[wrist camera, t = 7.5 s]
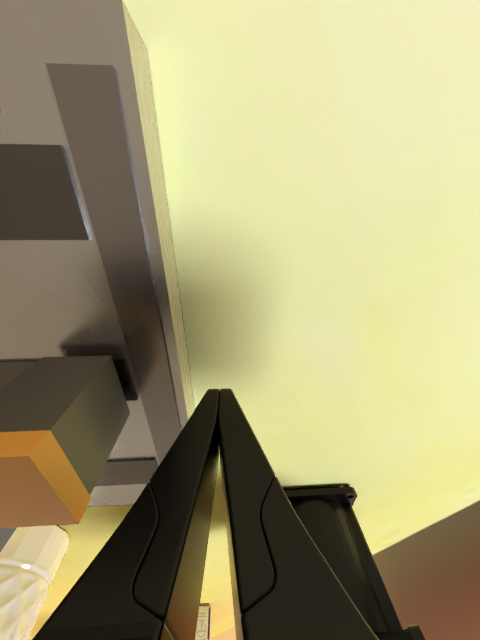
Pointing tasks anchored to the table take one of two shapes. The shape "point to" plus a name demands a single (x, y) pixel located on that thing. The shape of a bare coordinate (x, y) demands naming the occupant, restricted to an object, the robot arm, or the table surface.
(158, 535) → the robot arm
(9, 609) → the white cup
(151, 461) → the panel
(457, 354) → the table surface
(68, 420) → the block
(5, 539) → the block
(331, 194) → the table surface
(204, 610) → the candy bar box
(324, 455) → the table surface
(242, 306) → the table surface
